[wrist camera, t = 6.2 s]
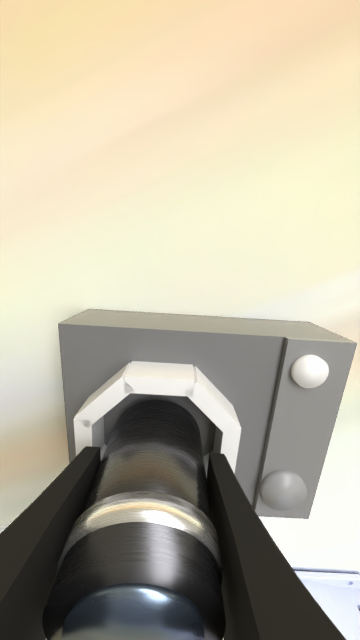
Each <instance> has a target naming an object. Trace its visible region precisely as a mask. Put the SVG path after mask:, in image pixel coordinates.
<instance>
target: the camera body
mask: <svg viewBox="0 0 360 640" xmlns="http://www.w3.org/2000/svg"><path fill="white" fill-rule="evenodd" d="M58 327H59V340H60V352H61V364H62V376H63V388H64V400H65V413H66V425H67V437H68V449H69V461H70V463H71V462H72V460H73V459H74V458H75V457H76V456H77V455H78V454H79V453H80V452H81V450H82V449H83V448H84V447H86V446H91V447H100V457H101V460H102V458H103V455H104V453H105V450H106V447H107V445H108V442H109V440H110V437H111V434H112V432H113V429H114V427H115V424H116V422H117V420H118V418H119V417H120V416H121V414H122V413H123V412H124V411H125V410H127V409H128V408H130V407H131V406H133V405H135V404H137V403H140V402H143V401H148V400H164V401H169V402H172V403H175V404H177V405H180V406H181V407H183V408H185V409H186V410H187V411H188V412H190V414H191V415H192V416H193V417H194V418H195V420H196V422H197V424H198V426H199V429H200V435H201V443H202V450H203V457H204V465H205V472H206V479H207V470H208V461H209V453H220V454H224V455H225V456H226V458H227V460H228V462H229V464H230V466H231V468H232V470H233V472H234V474H235V476H236V478H237V480H238V482H239V484H240V486H241V488H242V489H243V491H244V493H245V495H246V496H247V498H248V500H249V502H250V503H251V505H252V507H253V509H254V510H255V512H256V514H257V515H258V516H265V517H284V518H303V519H308V518H309V515H310V511H311V507H312V504H313V500H314V497H315V493H316V489H317V486H318V482H319V479H320V475H321V471H322V468H323V464H324V461H325V457H326V453H327V450H328V446H329V443H330V439H331V435H332V432H333V428H334V425H335V421H336V417H337V414H338V410H339V407H340V403H341V399H342V396H343V392H344V389H345V385H346V381H347V378H348V374H349V371H350V367H351V363H352V360H353V356H354V353H355V349H356V345H357V343H356V342H353V341H351V340H349V339H347V338H344V337H342V336H340V335H338V334H335V333H333V332H331V331H329V330H326V329H324V328H322V327H319V326H317V325H315V324H313V323H310V322H298V321H281V320H264V319H247V318H231V317H214V316H197V315H180V314H164V313H147V312H130V311H113V310H97V309H88V310H86V311H84V312H82V313H80V314H77V315H75V316H73V317H71V318H69V319H67V320H65V321H63V322H60V323H58Z"/></svg>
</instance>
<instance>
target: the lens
mask: <svg viewBox="0 0 360 640" xmlns="http://www.w3.org/2000/svg"><path fill="white" fill-rule="evenodd" d="M222 581H223V570H222V563H221V556H220V549H219V543H218V536H217V533H216V530H215V528H214V526H213V523H212V516H211V508H210V501H209V494H208V486H207V479H206V472H205V465H204V457H203V450H202V443H201V435H200V429H199V426H198V424H197V422H196V420H195V418H194V417H193V416H192V415H191V414H190V412H188V411H187V410H186V409H185V408H183V407H181V406H180V405H177V404H175V403H172V402H169V401H164V400H148V401H143V402H140V403H137V404H135V405H133V406H131V407H130V408H128V409H127V410H125V411H124V412H123V413H122V414H121V416H120V417H119V418H118V420H117V422H116V424H115V427H114V429H113V432H112V434H111V437H110V440H109V442H108V445H107V447H106V450H105V453H104V455H103V458H102V460H101V463H100V466H99V468H98V471H97V473H96V476H95V479H94V481H93V484H92V486H91V489H90V492H89V494H88V497H87V499H86V502H85V505H84V507H83V510H82V512H81V515H80V516H79V517H78V518H77V520H76V521H75V523H74V525H73V527H72V529H71V532H70V534H69V537H68V539H67V542H66V544H65V547H64V549H63V552H62V554H61V557H60V559H59V562H58V566H57V577H56V580H55V583H54V585H53V588H52V590H51V593H50V596H49V598H48V601H47V603H46V606H45V609H44V611H43V616H42V628H43V631H44V635H45V637H46V639H47V640H222V639H223V637H224V633H225V630H226V618H225V611H224V603H223V596H222V589H221V585H222Z"/></svg>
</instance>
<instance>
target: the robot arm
mask: <svg viewBox="0 0 360 640" xmlns="http://www.w3.org/2000/svg"><path fill="white" fill-rule="evenodd" d="M100 463H101V457H100V447H91V446H86V447H84V448H83V449H82V450H81V452H80V453H79V454H78V455H77V456H76V457H75V458H74V459H73V460H72V462H71V463H70V464H69V465H68V466H67V467H66V468H65V469H64V470H63V471H62V473H61V474H60V475H59V476H58V477H57V478H56V479H55V480H54V481H53V482H52V483H51V484H50V485H49V486H48V487H47V488H46V489H45V490H44V491H43V492H42V494H41V495H40V496H39V497H38V498H37V499H36V500H35V501H34V502H33V503H32V504H31V505H30V506H29V507H28V508H27V509H25V510H24V511H23V512H22V513H21V514H20V515H19V516H18V517H17V518H16V519H15V520H14V521H13V522H12V523H11V524H10V525H9V526H8V527H7V528H6V529H5V530H4V531H3V532H1V533H0V640H46V637H45V635H44V631H43V628H42V616H43V611H44V609H45V606H46V603H47V601H48V598H49V596H50V593H51V590H52V588H53V585H54V583H55V580H56V577H57V566H58V562H59V559H60V557H61V554H62V552H63V549H64V547H65V544H66V542H67V539H68V537H69V534H70V532H71V529H72V527H73V525H74V523H75V521H76V520H77V518H78V517H79V516H80V515H81V512H82V510H83V507H84V505H85V502H86V499H87V497H88V494H89V492H90V489H91V486H92V484H93V481H94V479H95V476H96V473H97V471H98V468H99V466H100ZM207 486H208V494H209V501H210V508H211V516H212V523H213V526H214V528H215V530H216V533H217V536H218V543H219V549H220V556H221V563H222V570H223V581H222V585H221V589H222V596H223V603H224V611H225V618H226V630H225V633H224V640H360V574H346V573H325V572H305V571H294V570H293V569H292V567H291V566H290V564H289V563H288V562H287V560H286V559H285V557H284V556H283V554H282V553H281V551H280V550H279V548H278V547H277V545H276V544H275V542H274V541H273V539H272V538H271V536H270V535H269V533H268V531H267V530H266V528H265V527H264V525H263V523H262V522H261V520H260V519H259V517H258V515H257V514H256V512H255V510H254V509H253V507H252V505H251V503H250V502H249V500H248V498H247V496H246V495H245V493H244V491H243V489H242V488H241V486H240V484H239V482H238V480H237V478H236V476H235V474H234V472H233V470H232V468H231V466H230V464H229V462H228V460H227V458H226V456H225V455H224V454H220V453H209V461H208V470H207Z"/></svg>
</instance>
